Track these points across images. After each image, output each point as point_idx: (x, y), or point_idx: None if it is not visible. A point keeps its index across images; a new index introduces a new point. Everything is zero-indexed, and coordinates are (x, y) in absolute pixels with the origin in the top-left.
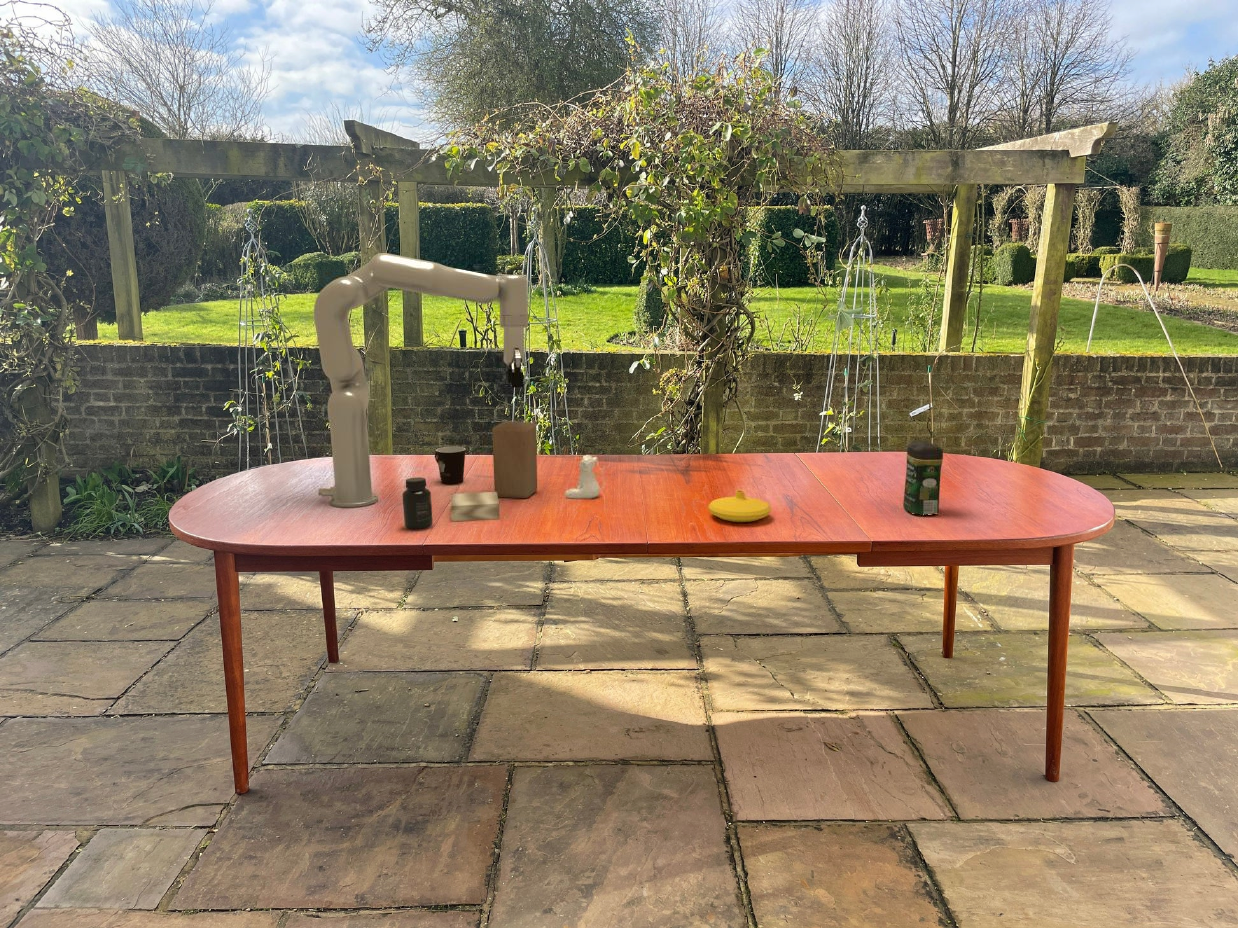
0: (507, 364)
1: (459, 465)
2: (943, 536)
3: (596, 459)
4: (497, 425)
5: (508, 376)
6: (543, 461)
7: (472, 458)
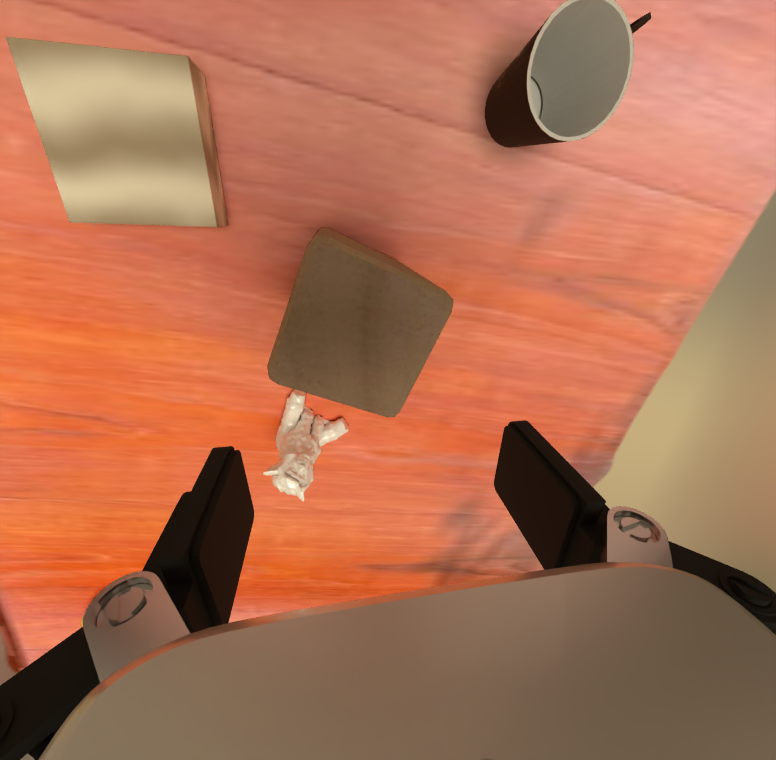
0: (173, 641)
1: (510, 121)
2: None
3: (299, 497)
4: (345, 266)
5: (538, 451)
6: (618, 367)
7: (742, 199)
